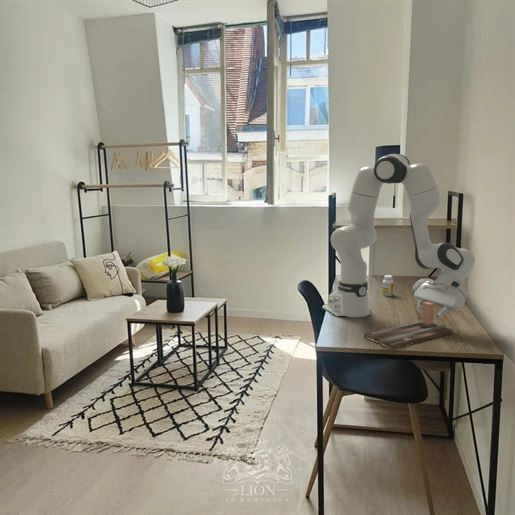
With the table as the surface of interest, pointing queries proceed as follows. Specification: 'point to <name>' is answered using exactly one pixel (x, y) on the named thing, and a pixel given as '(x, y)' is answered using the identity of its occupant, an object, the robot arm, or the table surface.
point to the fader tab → (428, 315)
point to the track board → (407, 334)
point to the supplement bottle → (387, 285)
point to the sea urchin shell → (420, 283)
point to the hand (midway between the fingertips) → (428, 313)
